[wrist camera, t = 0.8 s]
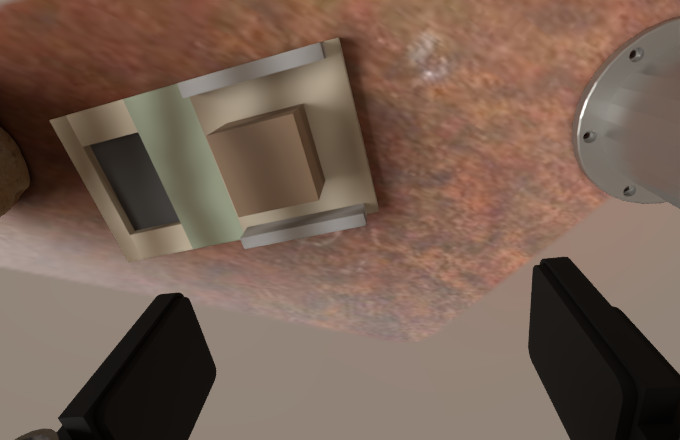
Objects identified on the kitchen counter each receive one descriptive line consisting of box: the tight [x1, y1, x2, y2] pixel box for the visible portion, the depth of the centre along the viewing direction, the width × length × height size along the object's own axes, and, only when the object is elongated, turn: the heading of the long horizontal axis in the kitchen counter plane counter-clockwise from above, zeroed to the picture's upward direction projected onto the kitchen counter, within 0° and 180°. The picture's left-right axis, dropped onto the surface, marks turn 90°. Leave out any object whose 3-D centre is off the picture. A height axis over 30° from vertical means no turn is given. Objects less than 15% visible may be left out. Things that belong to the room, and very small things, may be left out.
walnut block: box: [206, 104, 325, 217], centre depth 28 cm, size 6×6×4 cm
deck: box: [49, 38, 379, 262], centre depth 30 cm, size 23×13×3 cm, turn 104°
